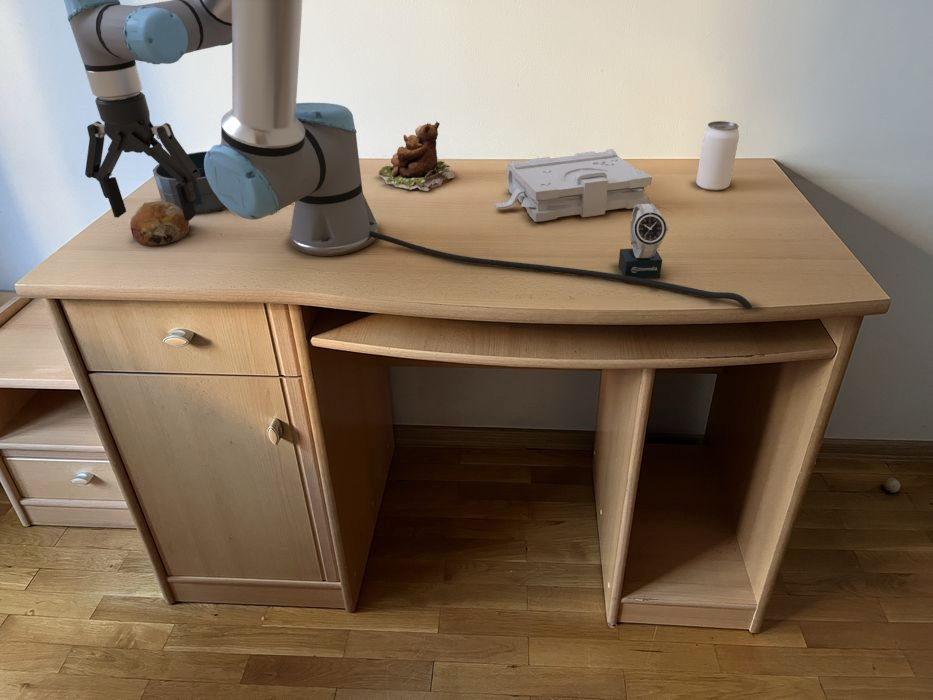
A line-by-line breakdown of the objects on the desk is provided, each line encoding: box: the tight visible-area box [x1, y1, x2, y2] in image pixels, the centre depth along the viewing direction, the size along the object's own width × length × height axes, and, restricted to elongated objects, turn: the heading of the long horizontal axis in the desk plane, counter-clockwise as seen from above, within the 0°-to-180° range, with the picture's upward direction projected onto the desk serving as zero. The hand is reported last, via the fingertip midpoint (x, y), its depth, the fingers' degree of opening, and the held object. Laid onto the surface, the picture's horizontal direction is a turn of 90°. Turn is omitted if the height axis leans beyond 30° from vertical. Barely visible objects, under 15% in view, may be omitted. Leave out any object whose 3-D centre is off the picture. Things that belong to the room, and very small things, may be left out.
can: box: [695, 120, 740, 192], centre depth 133 cm, size 6×6×12 cm
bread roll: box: [130, 200, 190, 246], centre depth 123 cm, size 10×10×8 cm
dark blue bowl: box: [152, 150, 228, 214], centre depth 137 cm, size 17×17×7 cm
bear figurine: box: [377, 120, 455, 192], centre depth 141 cm, size 14×15×12 cm
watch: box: [617, 203, 670, 279], centre depth 103 cm, size 6×8×11 cm
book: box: [493, 148, 653, 223], centre depth 129 cm, size 19×28×8 cm
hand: (155, 216), depth 122 cm, fingers open, 13 cm apart
